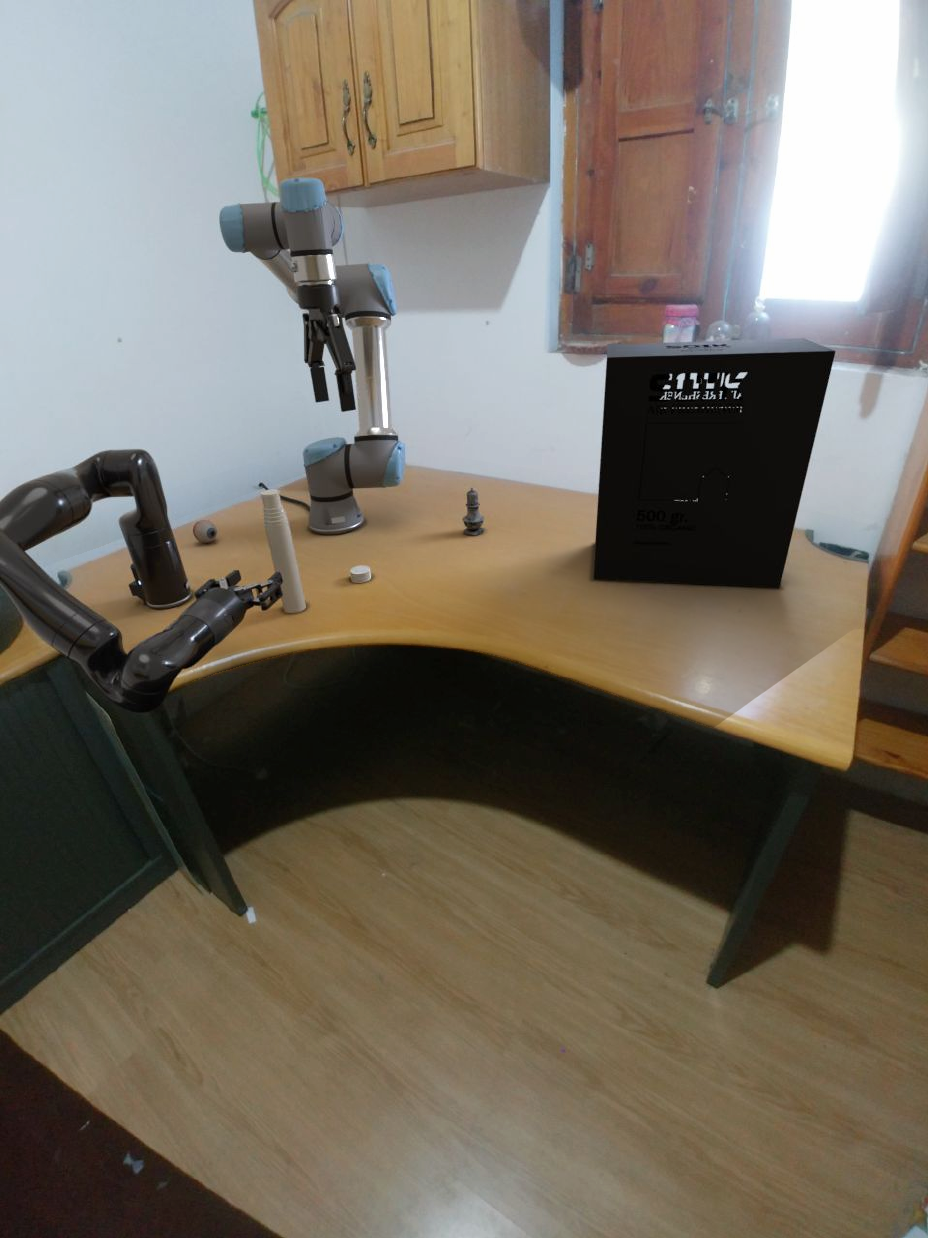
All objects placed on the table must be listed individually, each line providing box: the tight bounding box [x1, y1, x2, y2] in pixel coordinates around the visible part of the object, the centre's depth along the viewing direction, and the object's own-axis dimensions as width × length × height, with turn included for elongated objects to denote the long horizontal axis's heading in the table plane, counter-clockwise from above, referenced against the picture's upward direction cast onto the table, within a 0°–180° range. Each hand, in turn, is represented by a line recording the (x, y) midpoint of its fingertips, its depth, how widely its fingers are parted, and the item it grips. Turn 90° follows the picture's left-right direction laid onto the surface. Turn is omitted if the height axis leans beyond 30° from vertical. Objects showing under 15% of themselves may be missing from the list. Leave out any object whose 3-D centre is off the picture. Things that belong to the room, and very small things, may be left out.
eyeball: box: [192, 519, 218, 544], centre depth 162 cm, size 6×6×6 cm
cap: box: [349, 564, 372, 584], centre depth 138 cm, size 4×4×2 cm
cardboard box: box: [592, 337, 836, 589], centre depth 125 cm, size 38×20×45 cm, turn 78°
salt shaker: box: [461, 487, 485, 536], centre depth 157 cm, size 6×6×12 cm
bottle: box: [260, 488, 307, 614], centre depth 122 cm, size 5×5×25 cm
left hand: (259, 575), depth 113 cm, fingers open, 8 cm apart
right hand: (335, 405), depth 120 cm, fingers open, 13 cm apart
